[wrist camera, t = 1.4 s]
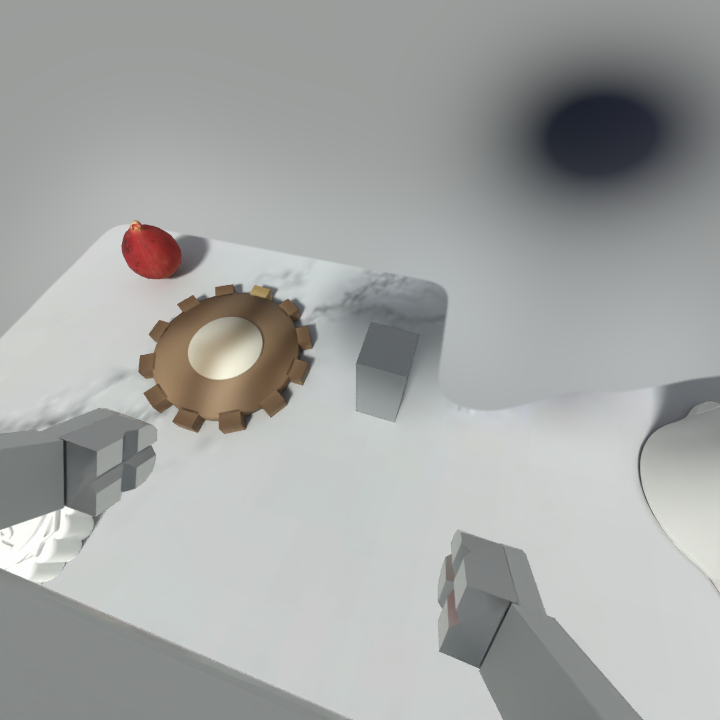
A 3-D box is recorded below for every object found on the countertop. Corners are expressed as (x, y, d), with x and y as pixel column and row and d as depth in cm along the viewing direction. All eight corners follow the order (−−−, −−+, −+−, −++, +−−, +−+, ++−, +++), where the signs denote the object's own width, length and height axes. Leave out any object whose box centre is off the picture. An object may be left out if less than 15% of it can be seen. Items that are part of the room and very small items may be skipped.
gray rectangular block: (403, 387, 36) (419, 334, 28) (394, 422, 34) (407, 377, 26) (367, 377, 37) (371, 322, 28) (356, 410, 35) (356, 363, 26)
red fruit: (152, 300, 41) (111, 249, 34) (137, 271, 44) (95, 217, 37) (198, 280, 43) (168, 227, 36) (181, 252, 45) (150, 197, 38)
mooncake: (-54, 639, 26) (-111, 650, 23) (-51, 490, 31) (-96, 483, 28) (113, 551, 29) (84, 551, 26) (92, 428, 34) (65, 416, 31)
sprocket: (333, 313, 41) (332, 303, 39) (271, 456, 33) (266, 451, 31) (200, 278, 43) (194, 267, 42) (111, 404, 35) (99, 396, 33)
